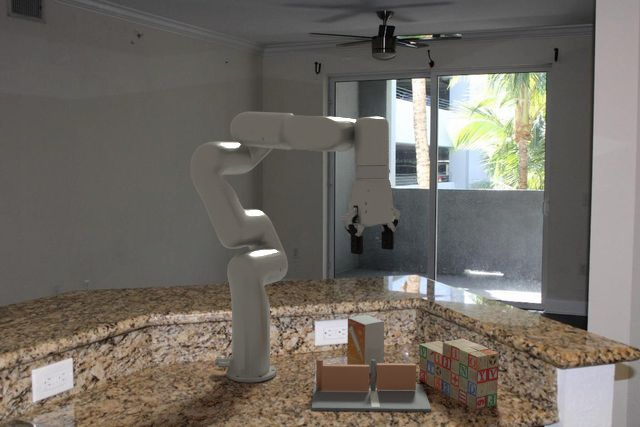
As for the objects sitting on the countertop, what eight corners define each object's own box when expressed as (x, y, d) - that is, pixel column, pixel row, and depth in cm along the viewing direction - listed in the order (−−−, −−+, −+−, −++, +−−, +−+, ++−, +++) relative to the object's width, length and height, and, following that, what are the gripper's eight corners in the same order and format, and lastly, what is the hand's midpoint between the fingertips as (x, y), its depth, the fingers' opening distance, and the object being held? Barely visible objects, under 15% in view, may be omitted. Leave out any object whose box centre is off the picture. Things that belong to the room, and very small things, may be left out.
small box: (346, 365, 172) (346, 317, 171) (366, 361, 176) (366, 314, 174) (364, 374, 165) (364, 324, 164) (384, 370, 169) (385, 320, 168)
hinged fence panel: (370, 391, 152) (371, 361, 151) (370, 389, 153) (370, 359, 153) (415, 391, 152) (416, 361, 151) (415, 389, 153) (415, 359, 152)
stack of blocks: (418, 380, 162) (419, 331, 161) (438, 376, 165) (439, 328, 163) (475, 411, 143) (477, 356, 142) (498, 406, 146) (499, 352, 144)
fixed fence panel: (316, 391, 152) (316, 361, 151) (316, 388, 154) (316, 359, 153) (369, 391, 152) (369, 361, 151) (368, 389, 153) (368, 359, 153)
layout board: (311, 410, 143) (311, 407, 142) (313, 385, 157) (313, 383, 157) (431, 411, 142) (431, 408, 142) (422, 386, 157) (422, 384, 157)
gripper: (386, 172, 152) (386, 246, 153) (331, 175, 140) (332, 254, 142) (411, 173, 146) (411, 249, 148) (355, 175, 135) (356, 257, 136)
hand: (372, 251), depth 145 cm, fingers open, 9 cm apart
